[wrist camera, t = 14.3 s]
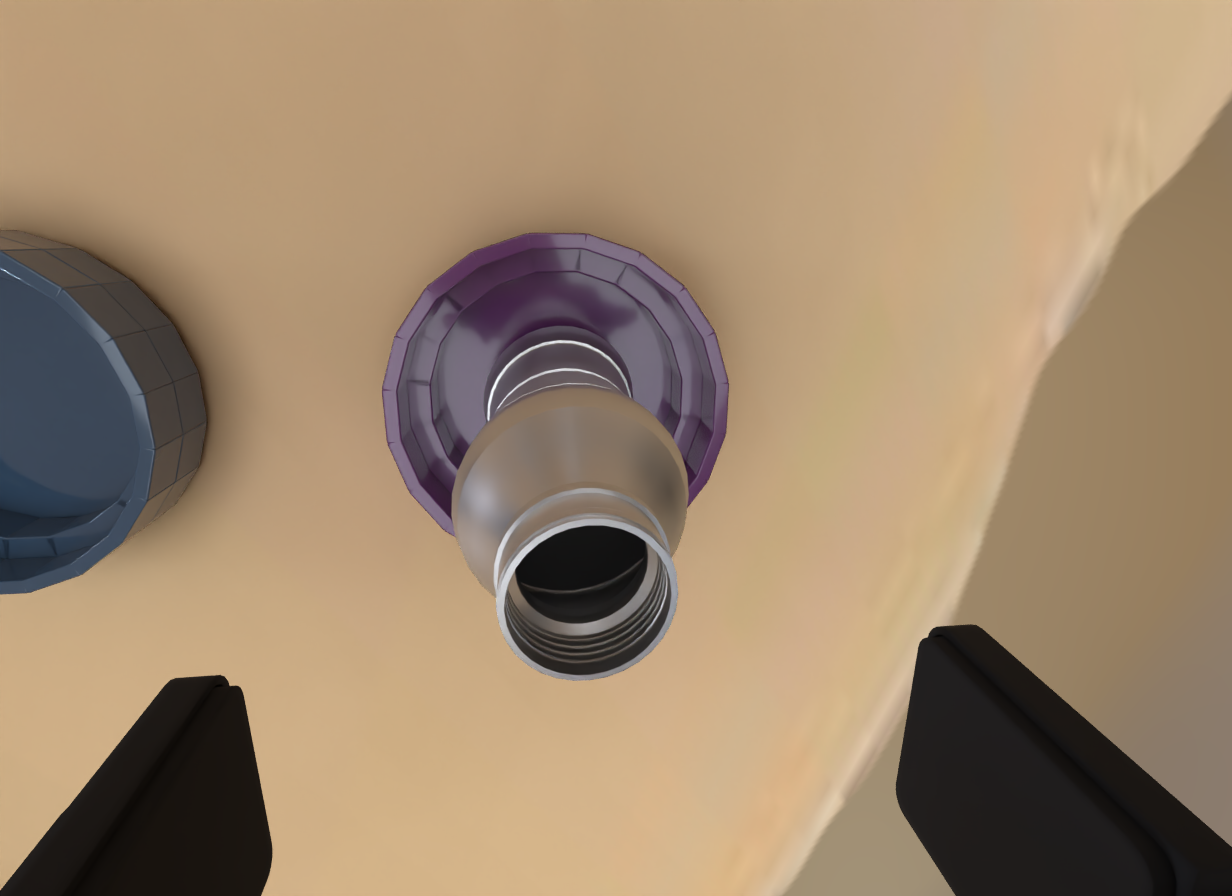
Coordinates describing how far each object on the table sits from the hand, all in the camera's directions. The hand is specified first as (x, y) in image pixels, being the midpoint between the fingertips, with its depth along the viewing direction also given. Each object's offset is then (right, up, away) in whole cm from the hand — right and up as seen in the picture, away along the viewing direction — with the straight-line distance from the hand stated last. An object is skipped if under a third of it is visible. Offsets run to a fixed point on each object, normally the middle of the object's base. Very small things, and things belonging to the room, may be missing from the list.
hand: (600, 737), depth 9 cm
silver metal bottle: (-3, +7, +23) cm, 24 cm away
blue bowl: (-25, +6, +21) cm, 34 cm away
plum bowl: (-3, +7, +23) cm, 25 cm away
